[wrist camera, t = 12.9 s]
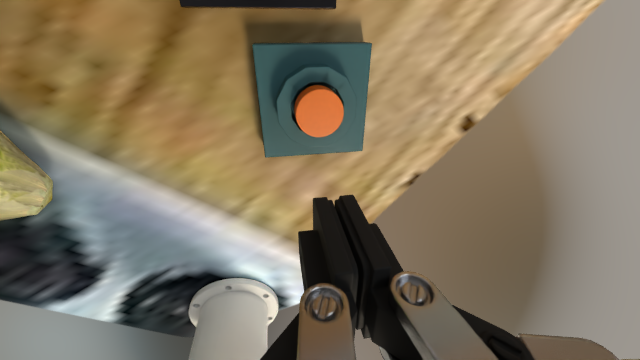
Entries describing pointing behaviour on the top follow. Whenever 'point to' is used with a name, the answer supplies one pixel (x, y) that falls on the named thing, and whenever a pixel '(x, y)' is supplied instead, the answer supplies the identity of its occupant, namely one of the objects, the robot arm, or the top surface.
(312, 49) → the control block
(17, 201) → the lettuce
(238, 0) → the bracket
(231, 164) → the top surface
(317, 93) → the button
